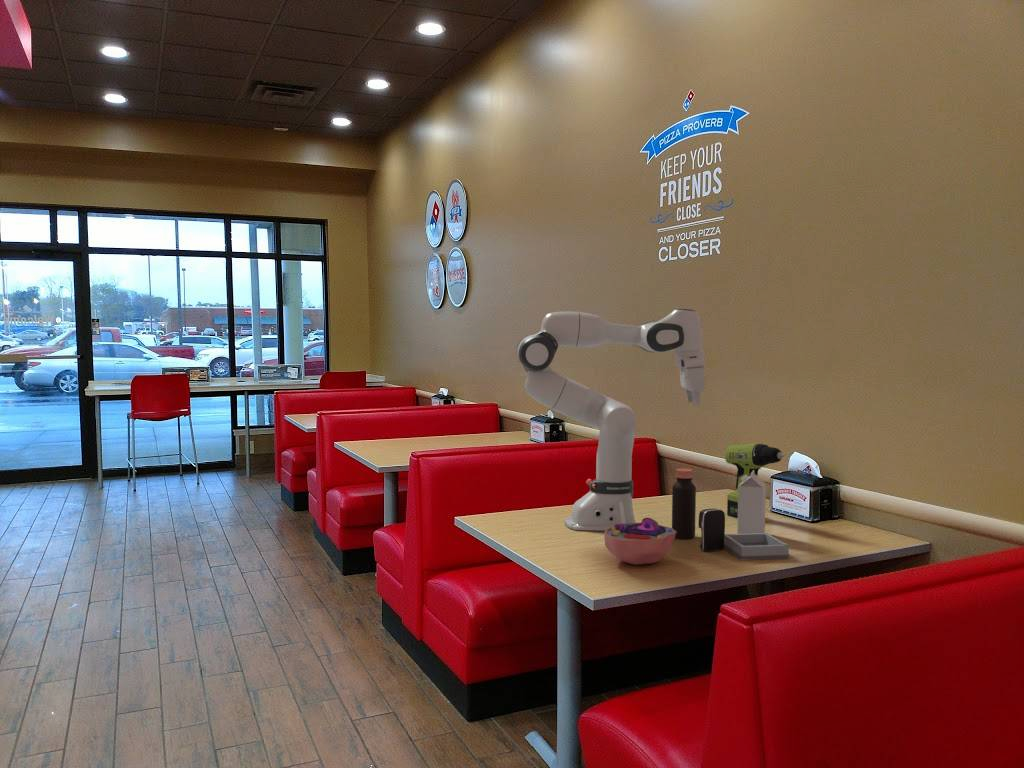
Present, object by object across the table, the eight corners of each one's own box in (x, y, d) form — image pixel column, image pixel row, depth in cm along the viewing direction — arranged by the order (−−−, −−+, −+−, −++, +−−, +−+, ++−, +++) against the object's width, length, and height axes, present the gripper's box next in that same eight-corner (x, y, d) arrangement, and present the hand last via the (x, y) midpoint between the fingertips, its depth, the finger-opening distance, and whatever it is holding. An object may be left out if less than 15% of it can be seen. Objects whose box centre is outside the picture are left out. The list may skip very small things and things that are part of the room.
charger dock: (741, 560, 199) (742, 545, 199) (722, 546, 212) (722, 533, 212) (788, 558, 201) (789, 544, 200) (767, 545, 214) (767, 531, 213)
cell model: (589, 559, 200) (589, 517, 200) (648, 548, 210) (648, 508, 209) (629, 576, 186) (629, 531, 185) (690, 564, 195) (690, 521, 195)
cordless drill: (791, 526, 234) (793, 447, 233) (775, 529, 231) (777, 448, 230) (737, 511, 255) (738, 438, 253) (721, 513, 251) (722, 439, 250)
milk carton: (764, 533, 227) (766, 470, 226) (762, 538, 220) (763, 474, 219) (740, 530, 230) (741, 469, 229) (737, 536, 223) (738, 472, 222)
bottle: (682, 540, 218) (683, 472, 217) (666, 535, 224) (667, 468, 223) (700, 537, 221) (701, 470, 220) (684, 532, 227) (685, 467, 226)
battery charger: (716, 546, 212) (717, 506, 212) (725, 550, 209) (726, 509, 208) (696, 549, 210) (696, 508, 209) (704, 552, 206) (705, 511, 205)
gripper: (673, 359, 245) (677, 401, 246) (685, 362, 225) (689, 408, 226) (693, 357, 245) (696, 399, 246) (706, 360, 225) (710, 406, 226)
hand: (693, 403), depth 236 cm, fingers open, 8 cm apart
